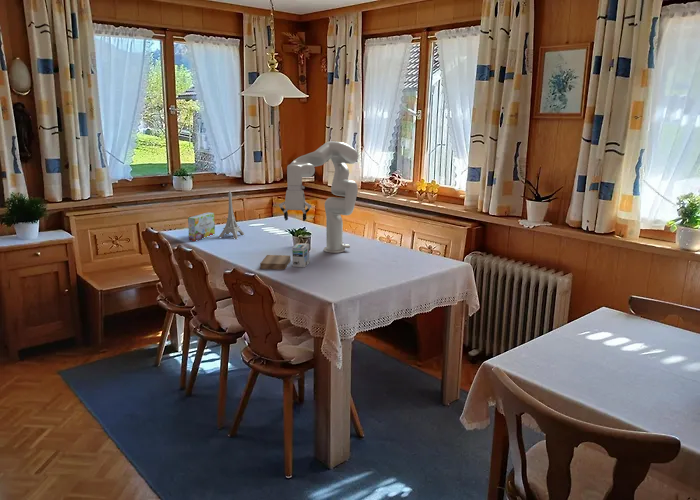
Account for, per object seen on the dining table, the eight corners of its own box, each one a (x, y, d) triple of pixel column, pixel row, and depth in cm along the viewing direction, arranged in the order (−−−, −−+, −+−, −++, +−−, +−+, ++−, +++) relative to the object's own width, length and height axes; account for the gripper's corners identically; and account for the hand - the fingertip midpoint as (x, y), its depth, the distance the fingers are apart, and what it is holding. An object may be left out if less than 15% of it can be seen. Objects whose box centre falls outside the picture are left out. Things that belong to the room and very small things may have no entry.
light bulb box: (304, 267, 294) (304, 248, 291) (292, 267, 295) (291, 247, 292) (309, 262, 304) (309, 243, 301) (298, 261, 305) (297, 242, 302)
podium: (290, 260, 306) (290, 255, 306) (285, 269, 290) (284, 264, 289) (267, 260, 307) (267, 254, 307) (260, 268, 291) (260, 263, 290)
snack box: (196, 241, 348) (194, 218, 344) (188, 241, 350) (187, 217, 346) (215, 234, 367) (214, 212, 363) (208, 234, 369) (207, 211, 365)
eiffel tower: (245, 235, 367) (243, 189, 360) (237, 239, 355) (235, 192, 347) (226, 233, 370) (224, 189, 363) (217, 238, 358) (215, 191, 350)
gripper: (312, 187, 292) (312, 219, 296) (280, 186, 294) (281, 218, 299) (309, 189, 285) (309, 222, 289) (276, 188, 287) (277, 221, 292)
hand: (295, 220), depth 294 cm, fingers open, 9 cm apart
